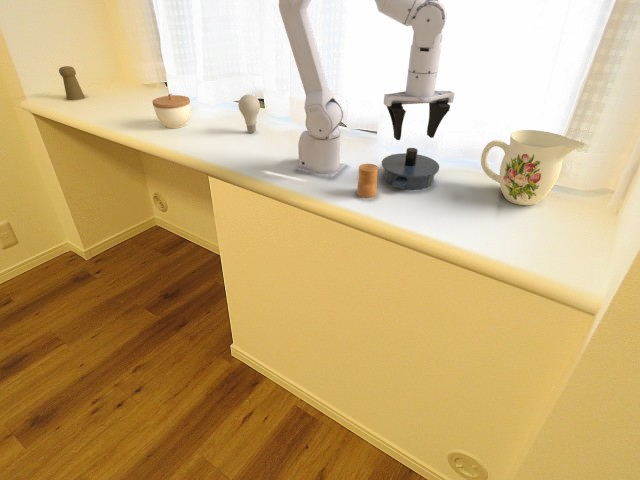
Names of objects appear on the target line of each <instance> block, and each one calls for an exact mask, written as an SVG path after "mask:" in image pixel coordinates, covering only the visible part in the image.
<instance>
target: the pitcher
mask: <svg viewBox="0 0 640 480" xmlns="http://www.w3.org/2000/svg"><path fill="white" fill-rule="evenodd" d="M509 138H510V139H509V144H508V143H506V142H505V141H503V140H501V139H500V140H499V139H494V140H491V141H490V142H488V143H487V144H486V145H485V146H484V148H483V150H482V153H481V156H480V165H481V168H482V170H483V172H484V174H485V175H486V176H487V177H488V178H490V179H491V180H493V181H495V182H496V183H499V187H500V190H501V193H502V195H503V197H504V199H505V200H506V201H508V202H510V203H513V204H515V205H519V206H533V205H536V204H537V203H539V202H540V201H542V200H543V199H544V198H545V197H546V196H547V195H548V194H549V193H550V192H551V190H552V189H553V187H554V186H555V184H556V182H557V181H558V179H559V177H560V173H561V170H562V166H563V160H564V159H565V158H566V157H567V156H568V155H569V154H570V153H571V152H573V151H574V150H577V149H580V148H581V149H582V148H584V147H586V145H587V144H586V143H584V142H582V141H579V140H575V139H573V138H569V137H567V136H564V135H562V134H557V133H554V132H550V131H545V130H536V129H535V130H534V129H521V130H515V131H513V132H512V133H511V134H510V137H509ZM494 147H498V148H500V149H502V150H503V153H504V155H503V157H502V160H501V163H500V167H499V174H497V173H496V172H494V171H493V169H492V168H491V167H490V166H489V164H488V156H489V152H490V150H491V149H492V148H494Z"/></svg>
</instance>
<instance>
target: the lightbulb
mask: <svg viewBox="0 0 640 480" xmlns="http://www.w3.org/2000/svg"><path fill="white" fill-rule="evenodd" d="M260 109H261V103H260V100H259V99H258V97H256V96H255V95H253V94H250V93H249V94H244V95H242V97H240V99H238V110H239V112H240V113H241V115H242V116H243V119H244V122H245V125H246V130H247V132H249V133H250V134H253V133H255V132H256V130H257V125H256V124H257V118H258V114H259V112H260Z"/></svg>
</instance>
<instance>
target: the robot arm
mask: <svg viewBox="0 0 640 480" xmlns="http://www.w3.org/2000/svg"><path fill="white" fill-rule="evenodd" d="M311 1H312V0H278V9H279V13H280V17H281V20H282V23H283V26H284V29H285V32H286V35H287V39H288V42H289V45H290V49H291V52H292V54H293V58H294V62H295V64H296V68H297V71H298V74H299V77H300V81H301V84H302V87H303V90H304V94H305V99H304V100H305V101H304V107H303V108H304V112H305V128H306V130H304V131H303V132H301V134H300V136H299V139H298V145H297V146H298V147H297V148H298V167H297V170H298V171H302V172H307V173H312V174H317V175H320V176H321V175H322V176H325V177H331V178H333V177H334V176H335V175H336V174H338V173H339V172H340V171H341V170H342V169H343V168H344V167H346V164H345V163H341V162H340V161H341V160H340V156H341V155H340V154H341V129H340V127H339V125H340V124H341V122H342V121H343V118H344V109H343V107H342V105H341V104H340V102H339V101H338V100H337V98H336V96H335V93H334V91H333V90H332V89H331V87H329V84H328V81H327V76H326V72H325V70H324V69H325V68H324V66H323V63H322V59H321V56H320V55H321V54H320V52H319V49H318V45H317V42H316V37H315V34H314V31H313V28H312V24H311V20H310V17H309V14H308V13H309V12H308V7H309V5H310V4H311ZM374 2H375V4H376V8H377V11H378V12H379V13H381V14H383V15H385V16H386V17H388V18H390V19H392V20H394V21H396V22H398V23H399V24H401V25H403V26H405V27H409V26H410V27H411V29H412V31H413V34H412V43H411V45H410V51H409V61H408V69H407V76H406V77H407V78H406V84H405V85H406V86H405V91H398V92H393V93H386V94H385V93H384V95H383V105H384V106H385V107H386V108H387V111H388V114H389V117H390V120H391V124H392V132H393V138H394V139H395V140H396V141H401V138H402V131H403V130H402V129H403V123H404V119H405V117H406V116H405V115H406V112H407V111H406V109H404V106H403V105H416V104H428V114H429V115H428V121H427V128H426V136H428V137H429V138H430V139H434V137H435V135H436V133H437V130H438V128H439V126H440V125H441V122H442V121H443V119H444V117H445V116H446V115H447V114H448V113H449V111H450V110H451V104H453V103H454V99H455V92H453V91H451V90H436V84H437V77H438V72H439V66H440V59H441V52H442V44H441V43H442V41H443V30H444V27H445V25H446V22H447V17H448V14H447V9H446V7H445V5H444V4H443V3H442V2H441V1H439V0H374Z"/></svg>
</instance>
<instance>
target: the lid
mask: <svg viewBox="0 0 640 480" xmlns="http://www.w3.org/2000/svg"><path fill="white" fill-rule="evenodd" d="M381 168H382V169H383V171H384V170H385V171H387V172H389V173H391V174H393V175H396V176H400V177H405V178H425V177H430V176H433V175H434V176H435V175H436V174H437V173H438V172H439V171H440V164H439V163H438V161H436V160H435V159H433V158H432V157H429V156H425V155H422V154H418V148H415V147H407V148H406V152H404V153H394V154H393V153H392V154H390V155H388V156H385V157H384V158H383V159H382V160H381Z"/></svg>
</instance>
